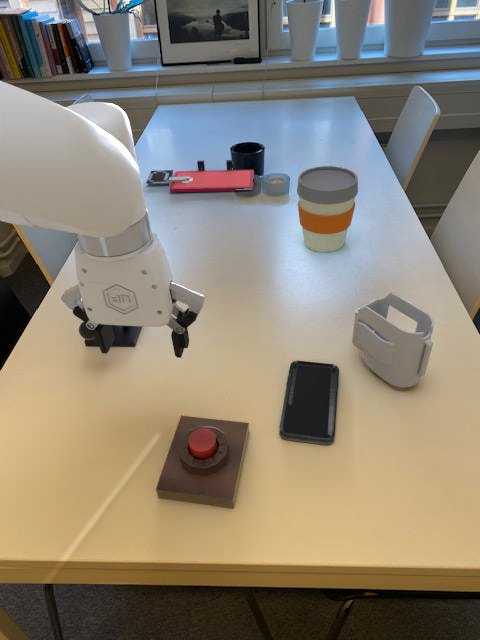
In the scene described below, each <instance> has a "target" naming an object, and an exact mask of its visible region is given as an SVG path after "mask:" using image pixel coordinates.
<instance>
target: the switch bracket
mask: <svg viewBox="0 0 480 640" xmlns="http://www.w3.org/2000/svg"><path fill="white" fill-rule="evenodd" d="M111 326H112V329H113V333H114V336H115V339H114V341H113V343H112V345H111V347H115V348H116V347H122V348H124V347H128V348H129V347H130V348H135V347H136V346H137V343H138V340H139V336H140V334H141V331H142V327H143V326H122V325H111ZM83 342H84V344H85V347H99V344H97V342H96V339H92V340H86V339H84V340H83Z"/></svg>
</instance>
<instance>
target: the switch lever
mask: <svg viewBox="0 0 480 640" xmlns="http://www.w3.org/2000/svg"><path fill="white" fill-rule="evenodd" d="M78 333H79V335H80V337H81V338H82V339H83V340H85V339H86V340H92V339H95V336H94V333H93V330H91V329H88V328H87V327H86V323H85V322H84V321H82V322H81V323H80V324H79V326H78Z"/></svg>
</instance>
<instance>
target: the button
mask: <svg viewBox="0 0 480 640" xmlns="http://www.w3.org/2000/svg"><path fill="white" fill-rule="evenodd" d="M189 447H190V452H191V454H192V455H193V456H194V457H195V458H198V459H207V458H209V457H211V456H213V455H214V454H215V452H216V450H217V442H216V436H215V434H214V433H213V432H212V431H211V430H208V429H198V430H196V431H194V432H193V433H192V434H191V435H190V437H189Z"/></svg>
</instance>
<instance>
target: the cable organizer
mask: <svg viewBox="0 0 480 640" xmlns="http://www.w3.org/2000/svg"><path fill="white" fill-rule="evenodd" d="M389 307H392V308H394V309H395V310H396V311H398V312H399V313H401V314H403V315H405V316H406V317H408V318H410V319H411V320H413V321H415V322H416V328H415V332H413V331H408V330H406V329H403V328H401V327H400V326H398V325H397V324H395V323H393V322H391V321H390V320H389V319H388V314H389ZM434 327H435V320H434V318H433V317H432V315H431V314H430V313H429V312H426V311H425V310H424V309H422V308H420V307H418V306H416V305H415V304H413V303H412V302H409V301H408V300H407V299H405V298H403V297H401V296H399V295H398V294H397V293H395V292H393V291H391V292H390V293H388V294H387V295H386V296H384V297H383V298H374V299H372V300H371V301H369V302H367V303H365V304H364V305H362V306H359V307H358V308H356V309H355V312H354V320H353V328H352V337H351V343H352V345H353V346H354V348H356V349H358V350H359V351H360V352H362V353H363V354H362V360H363V362H364V364H365V365H366V366H367V368H368V369H369V370H371V372H373V373H374V374H376V375H377V376H378V377H379V378H381V379H382V380H384V381H385V382H386V383H388V384H389V385H390V386H393V387H396V388H410V387H413V386H415V385H417V384H418V383H419V382H420V380H421V378H422V377H423V376H425V375H426V372H427V368H428V365H429V360H430V357H431V354H432V353H431V352H432V350H433V346H434V344H433V343H434V342H433V341H432V339H431V338H432V334H433V331H434Z"/></svg>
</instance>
